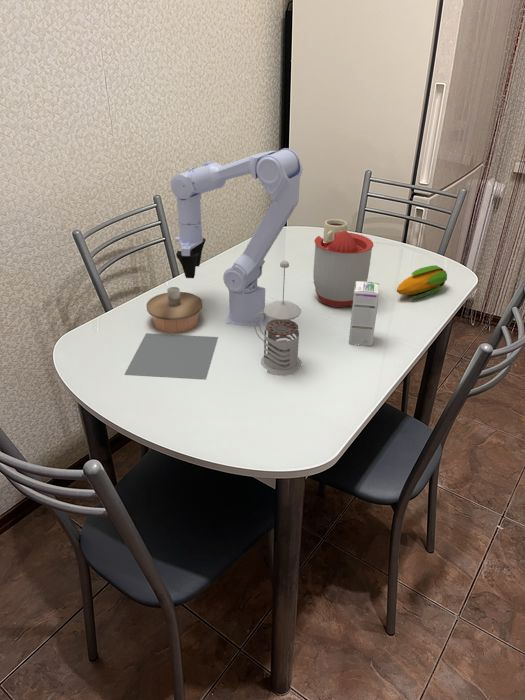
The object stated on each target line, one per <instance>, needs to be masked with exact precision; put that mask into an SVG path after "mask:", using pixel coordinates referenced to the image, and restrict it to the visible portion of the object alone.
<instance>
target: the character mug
mask: <svg viewBox="0 0 525 700" xmlns="http://www.w3.org/2000/svg"><path fill="white" fill-rule="evenodd" d="M323 227H324V228H323V237H322V238H323V243H328V242H331V241H333V240H334V236H335V232H342V231H347V232H348V222H347V221H345V220H343V219H339V218H338V219H336V218H330V219H327V220H325V221H324V226H323Z"/></svg>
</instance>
